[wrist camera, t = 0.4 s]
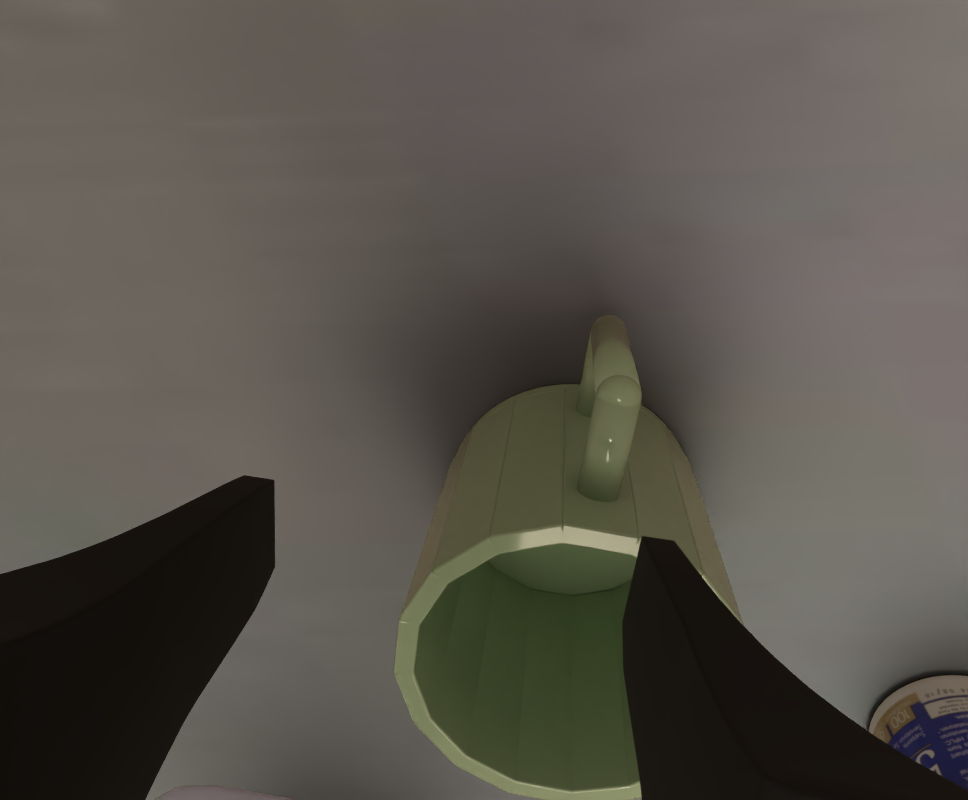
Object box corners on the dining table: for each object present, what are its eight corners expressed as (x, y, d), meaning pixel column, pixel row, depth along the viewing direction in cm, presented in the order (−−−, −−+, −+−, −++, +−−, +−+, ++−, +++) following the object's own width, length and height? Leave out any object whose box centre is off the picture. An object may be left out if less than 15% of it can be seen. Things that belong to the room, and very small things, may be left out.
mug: (662, 611, 26) (701, 831, 18) (438, 573, 26) (383, 770, 19) (744, 317, 22) (841, 439, 14) (475, 276, 22) (422, 372, 14)
